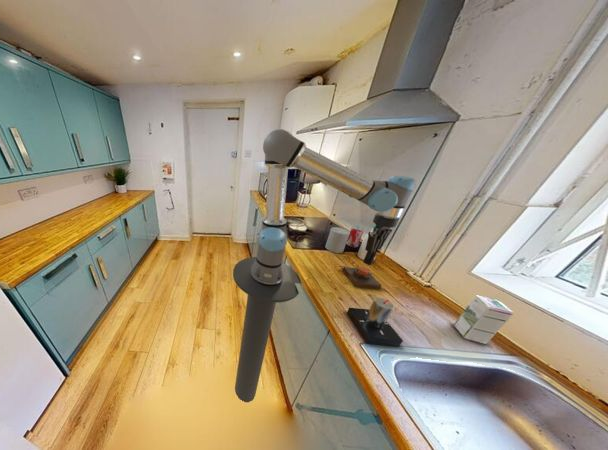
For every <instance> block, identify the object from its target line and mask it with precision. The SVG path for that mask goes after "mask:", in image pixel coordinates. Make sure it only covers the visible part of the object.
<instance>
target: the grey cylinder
mask: <svg viewBox="0 0 608 450" xmlns="http://www.w3.org/2000/svg"><path fill="white" fill-rule="evenodd" d="M349 234H350V230H348V229H347V228H343V227H340V226H339V227H338V226H332V227H331V228H330V231H329V234H328V237H327V240H326V243H325V245H324V248H325V249H326V250H328V251H329V252H332V253H336V254H342V253H343V252H344V251H345V247H346V245H347V244H346V242H347V240H348V237H349Z"/></svg>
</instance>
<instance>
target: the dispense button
mask: <svg viewBox="0 0 608 450" xmlns="http://www.w3.org/2000/svg"><path fill="white" fill-rule="evenodd" d="M358 268H359V269H358V271H357V272H358V273H359V274H361V275H364V276H367V275H368V273H369V272H370V269H368V268H366V267H363V266H359V267H358Z"/></svg>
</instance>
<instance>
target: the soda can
mask: <svg viewBox="0 0 608 450" xmlns="http://www.w3.org/2000/svg"><path fill="white" fill-rule="evenodd" d="M349 232H350V234H349V237H348V240H347V242H346V245H347V246H348V247H351V248H358V247H359V244H360V242H361V239H362V237H363V234H364V228H362V227H360V226H352V227H351V228H350V230H349Z"/></svg>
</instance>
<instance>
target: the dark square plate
mask: <svg viewBox="0 0 608 450" xmlns="http://www.w3.org/2000/svg"><path fill="white" fill-rule="evenodd" d="M358 269H359V267H348V266H343V268H342V272H343V273H344V275H346V277H347V279H349V280H350V281H351V283H352V284H353V285H354V287H355V288H363V289H376V290H381V288H382V284H381V283H380V282H379V280H377V278H375V277H374V276H373V274H372V273H371V272H370V271H369V273H368V275H367V276H364V275H361V274H359V273H358V272H357V271H358Z"/></svg>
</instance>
